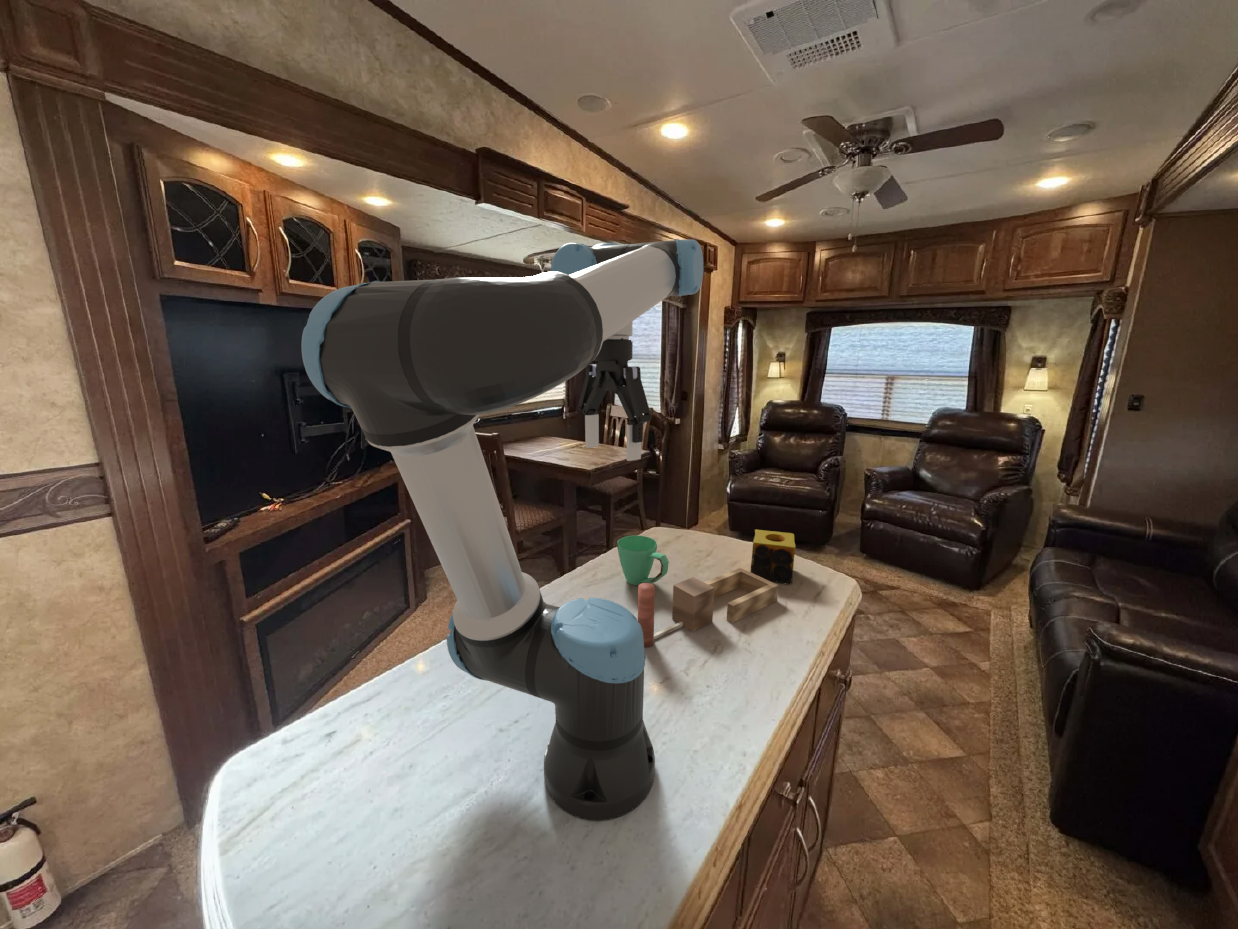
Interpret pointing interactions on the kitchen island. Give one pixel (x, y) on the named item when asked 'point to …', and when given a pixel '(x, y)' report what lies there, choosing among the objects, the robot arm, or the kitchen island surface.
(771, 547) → the toy block
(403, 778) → the kitchen island surface
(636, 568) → the mug
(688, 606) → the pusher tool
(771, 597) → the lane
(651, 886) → the kitchen island surface
